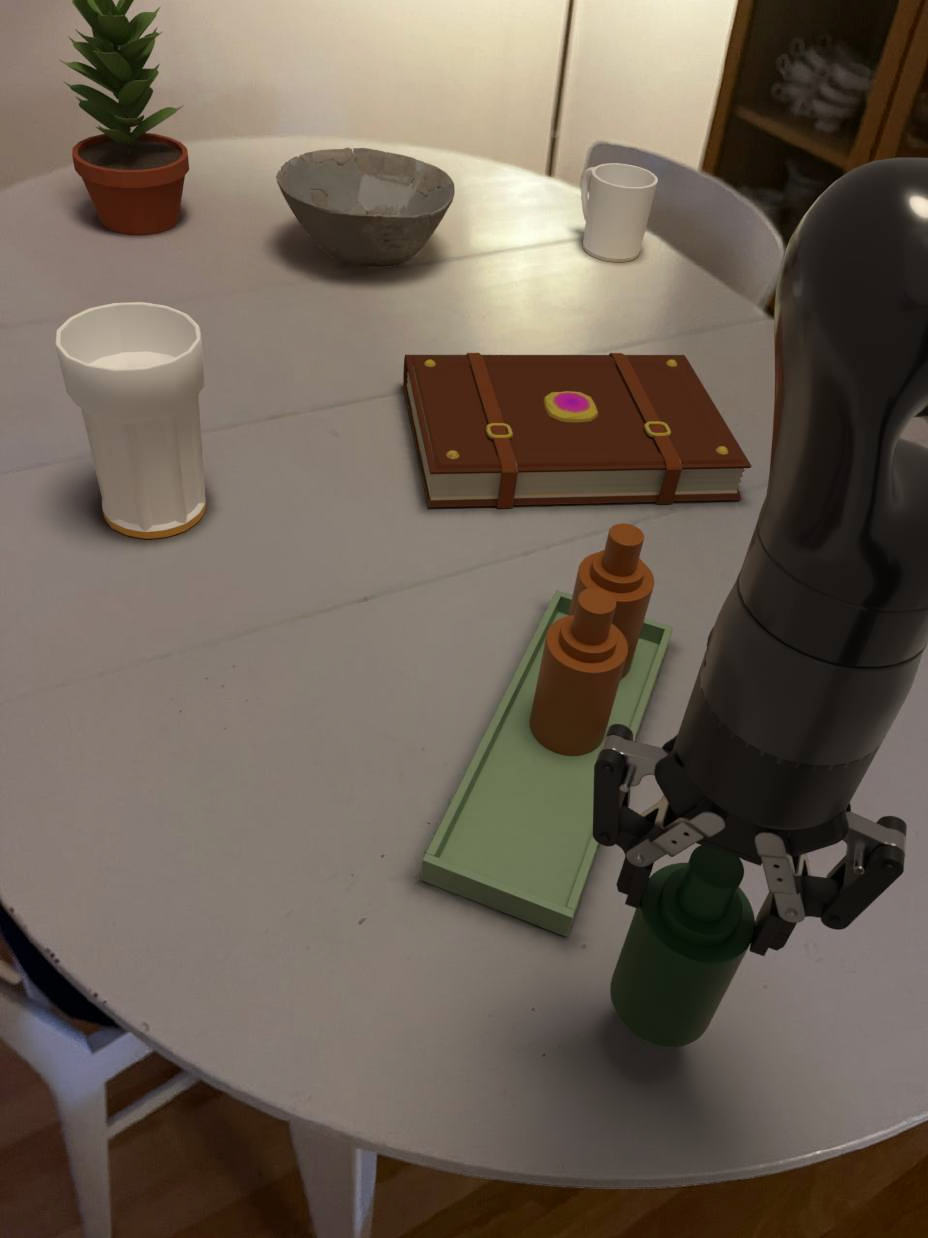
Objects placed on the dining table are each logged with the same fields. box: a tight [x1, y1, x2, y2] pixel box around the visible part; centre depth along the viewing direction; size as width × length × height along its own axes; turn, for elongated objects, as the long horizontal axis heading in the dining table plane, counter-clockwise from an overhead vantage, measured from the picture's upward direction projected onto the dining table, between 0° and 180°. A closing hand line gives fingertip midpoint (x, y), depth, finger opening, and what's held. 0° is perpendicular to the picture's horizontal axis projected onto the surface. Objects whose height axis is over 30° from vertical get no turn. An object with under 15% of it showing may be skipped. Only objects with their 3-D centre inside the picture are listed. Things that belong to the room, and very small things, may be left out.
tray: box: [420, 589, 674, 937], centre depth 76 cm, size 29×10×2 cm, turn 159°
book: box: [402, 352, 753, 509], centre depth 106 cm, size 23×32×5 cm
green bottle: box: [609, 844, 756, 1048], centre depth 53 cm, size 6×6×13 cm
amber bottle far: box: [568, 522, 655, 680], centre depth 79 cm, size 6×6×13 cm
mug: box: [580, 162, 659, 263], centre depth 141 cm, size 11×9×10 cm
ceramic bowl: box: [275, 147, 456, 268], centre depth 132 cm, size 22×23×10 cm
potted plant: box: [57, 0, 190, 236], centre depth 128 cm, size 15×15×30 cm
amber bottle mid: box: [530, 588, 628, 756], centre depth 73 cm, size 6×6×13 cm
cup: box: [54, 301, 207, 540], centre depth 87 cm, size 11×11×17 cm
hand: (697, 915), depth 52 cm, fingers closed on green bottle, 5 cm apart
